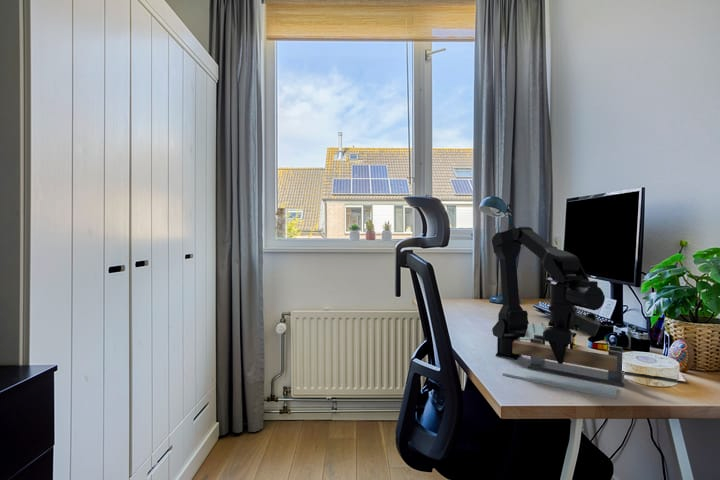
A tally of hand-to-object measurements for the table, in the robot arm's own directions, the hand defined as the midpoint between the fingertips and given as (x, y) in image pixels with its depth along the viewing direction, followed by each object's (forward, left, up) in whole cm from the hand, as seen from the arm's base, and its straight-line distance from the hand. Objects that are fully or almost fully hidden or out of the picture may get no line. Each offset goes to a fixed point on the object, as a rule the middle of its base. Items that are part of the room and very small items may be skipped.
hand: (561, 361), depth 100 cm
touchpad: (+19, +22, -6) cm, 30 cm away
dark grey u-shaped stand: (+2, +10, -6) cm, 12 cm away
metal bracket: (-15, +45, -6) cm, 48 cm away
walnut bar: (0, 0, 0) cm, 0 cm away
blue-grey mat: (-1, 0, -6) cm, 6 cm away
